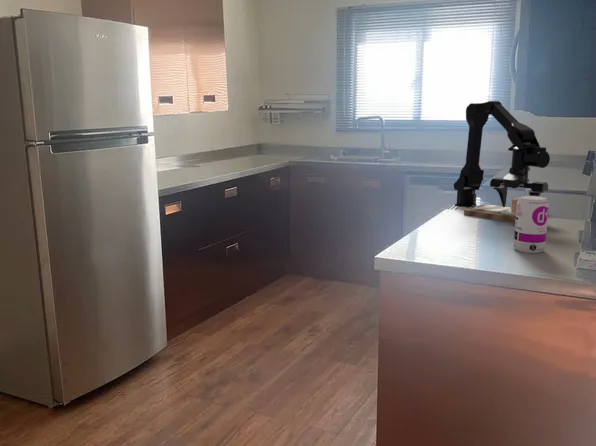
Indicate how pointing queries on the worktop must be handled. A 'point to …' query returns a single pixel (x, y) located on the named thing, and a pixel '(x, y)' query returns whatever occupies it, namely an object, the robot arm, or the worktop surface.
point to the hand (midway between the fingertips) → (516, 208)
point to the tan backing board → (490, 212)
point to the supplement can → (531, 224)
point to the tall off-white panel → (513, 209)
